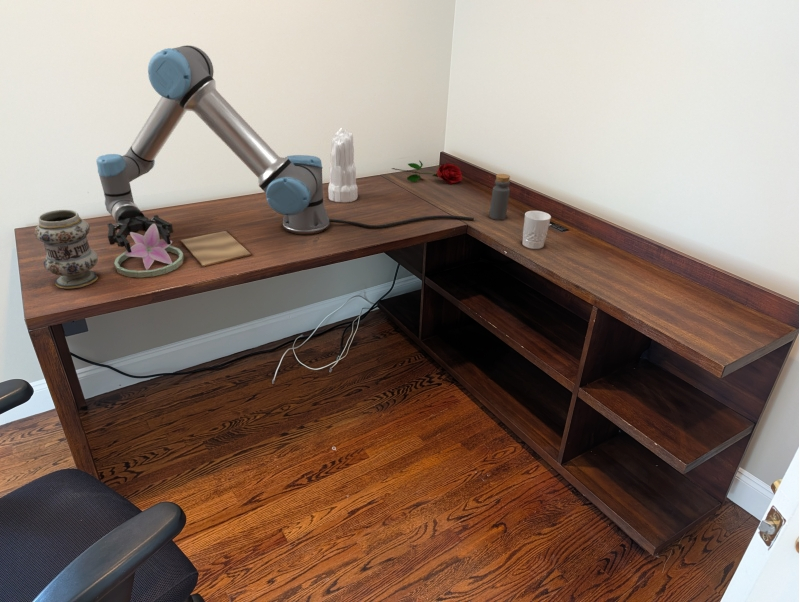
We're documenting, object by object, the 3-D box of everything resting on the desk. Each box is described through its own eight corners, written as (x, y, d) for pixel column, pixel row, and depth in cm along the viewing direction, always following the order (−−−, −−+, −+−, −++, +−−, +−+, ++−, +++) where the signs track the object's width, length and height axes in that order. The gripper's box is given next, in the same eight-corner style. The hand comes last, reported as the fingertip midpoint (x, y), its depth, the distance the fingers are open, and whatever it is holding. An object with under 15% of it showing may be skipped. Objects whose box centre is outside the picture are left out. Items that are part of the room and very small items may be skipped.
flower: (393, 154, 213) (466, 162, 217) (391, 159, 223) (461, 166, 226) (391, 177, 214) (464, 184, 217) (389, 181, 223) (459, 188, 226)
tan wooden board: (180, 241, 162) (180, 240, 161) (225, 232, 169) (225, 230, 169) (203, 266, 148) (202, 264, 148) (250, 255, 155) (250, 253, 155)
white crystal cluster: (352, 203, 195) (352, 134, 183) (325, 200, 197) (322, 132, 184) (360, 194, 205) (360, 128, 192) (333, 191, 206) (332, 125, 194)
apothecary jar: (107, 283, 138) (89, 218, 129) (53, 295, 131) (30, 228, 122) (98, 265, 146) (81, 203, 137) (48, 276, 140) (26, 211, 131)
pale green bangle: (194, 253, 155) (193, 248, 154) (163, 280, 140) (161, 275, 139) (139, 247, 157) (138, 242, 156) (102, 273, 142) (100, 268, 141)
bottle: (487, 218, 188) (492, 176, 180) (491, 212, 192) (496, 172, 185) (503, 221, 186) (509, 179, 178) (507, 215, 191) (513, 174, 183)
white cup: (531, 251, 164) (536, 221, 159) (515, 242, 170) (519, 212, 165) (550, 247, 168) (556, 217, 163) (534, 238, 174) (539, 209, 169)
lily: (121, 274, 145) (124, 250, 138) (126, 242, 151) (129, 219, 145) (169, 280, 150) (174, 258, 144) (172, 249, 157) (176, 227, 150)
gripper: (169, 221, 165) (192, 247, 149) (90, 236, 153) (107, 266, 138) (165, 198, 161) (188, 222, 146) (84, 212, 149) (100, 239, 134)
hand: (149, 243), depth 142 cm, fingers closed on lily, 9 cm apart
